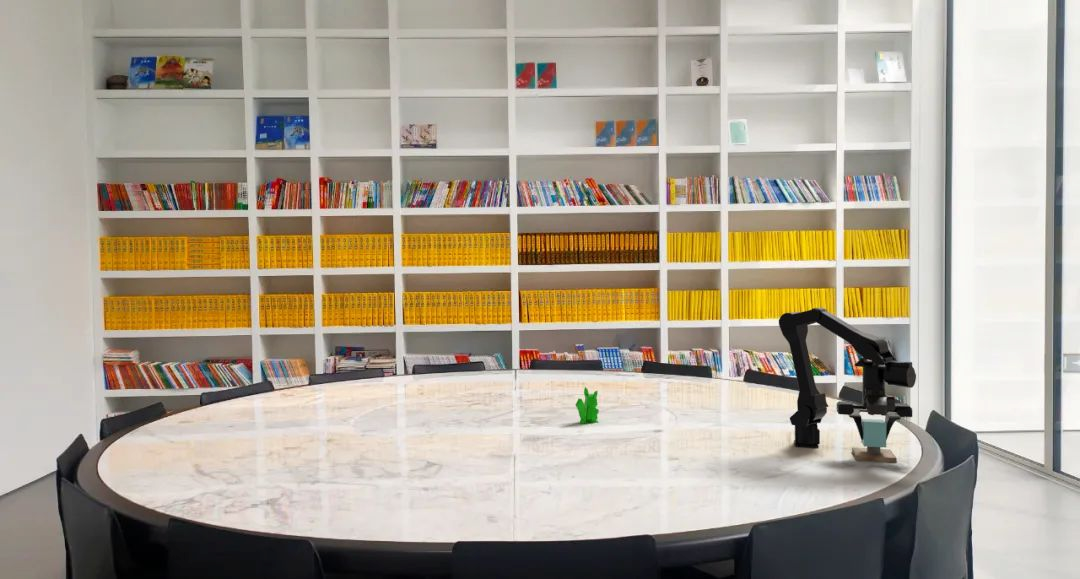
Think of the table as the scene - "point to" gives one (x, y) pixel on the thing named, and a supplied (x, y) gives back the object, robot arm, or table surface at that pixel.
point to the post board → (874, 454)
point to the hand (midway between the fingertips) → (873, 440)
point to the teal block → (873, 433)
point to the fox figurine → (588, 408)
